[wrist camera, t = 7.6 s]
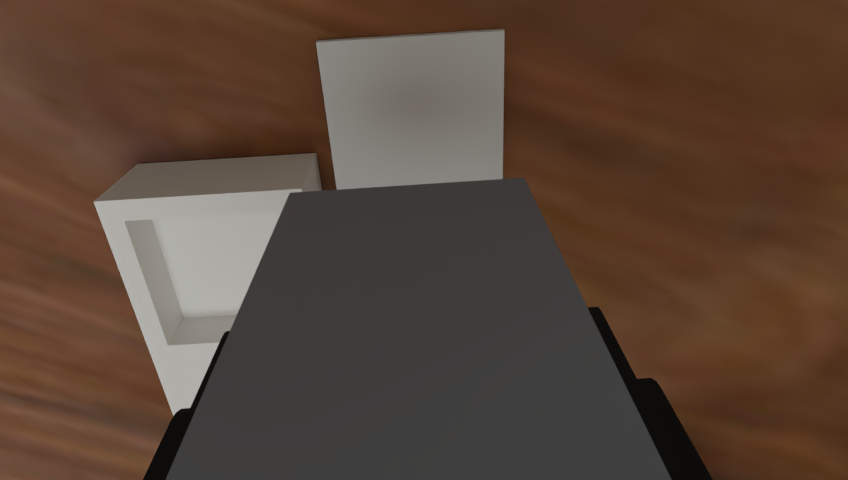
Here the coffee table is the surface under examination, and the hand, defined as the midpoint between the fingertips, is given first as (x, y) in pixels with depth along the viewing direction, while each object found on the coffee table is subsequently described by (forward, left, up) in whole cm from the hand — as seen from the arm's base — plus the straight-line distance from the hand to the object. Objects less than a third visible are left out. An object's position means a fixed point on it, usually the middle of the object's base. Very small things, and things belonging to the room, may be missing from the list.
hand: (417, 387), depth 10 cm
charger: (0, 0, -3) cm, 3 cm away
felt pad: (0, 0, -16) cm, 16 cm away
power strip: (+6, +11, -16) cm, 21 cm away
